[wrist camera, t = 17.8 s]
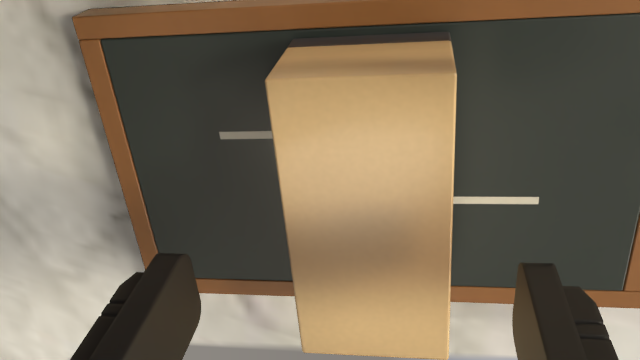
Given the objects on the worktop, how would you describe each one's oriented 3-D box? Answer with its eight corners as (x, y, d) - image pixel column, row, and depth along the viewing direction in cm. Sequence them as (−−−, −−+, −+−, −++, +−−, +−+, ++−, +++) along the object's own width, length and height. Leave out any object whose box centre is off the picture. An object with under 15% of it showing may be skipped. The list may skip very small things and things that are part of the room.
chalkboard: (88, 8, 20) (70, 17, 19) (704, -27, 17) (722, -20, 16) (162, 274, 26) (151, 292, 25) (632, 288, 23) (642, 309, 22)
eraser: (292, 38, 19) (263, 79, 15) (449, 30, 18) (457, 73, 14) (319, 280, 23) (302, 353, 20) (444, 283, 22) (448, 361, 19)
